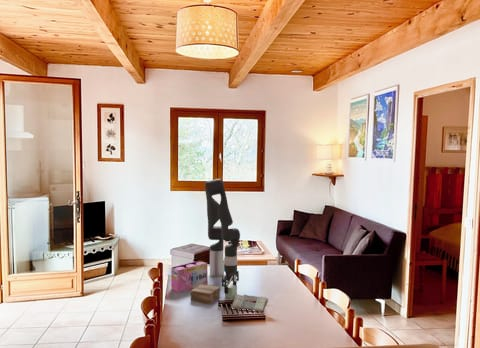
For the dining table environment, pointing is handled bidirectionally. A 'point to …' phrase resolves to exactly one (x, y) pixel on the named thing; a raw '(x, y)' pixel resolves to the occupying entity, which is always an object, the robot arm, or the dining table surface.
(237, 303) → the dish towel
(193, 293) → the walnut base
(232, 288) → the sage block
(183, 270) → the gum box
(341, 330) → the dining table surface
